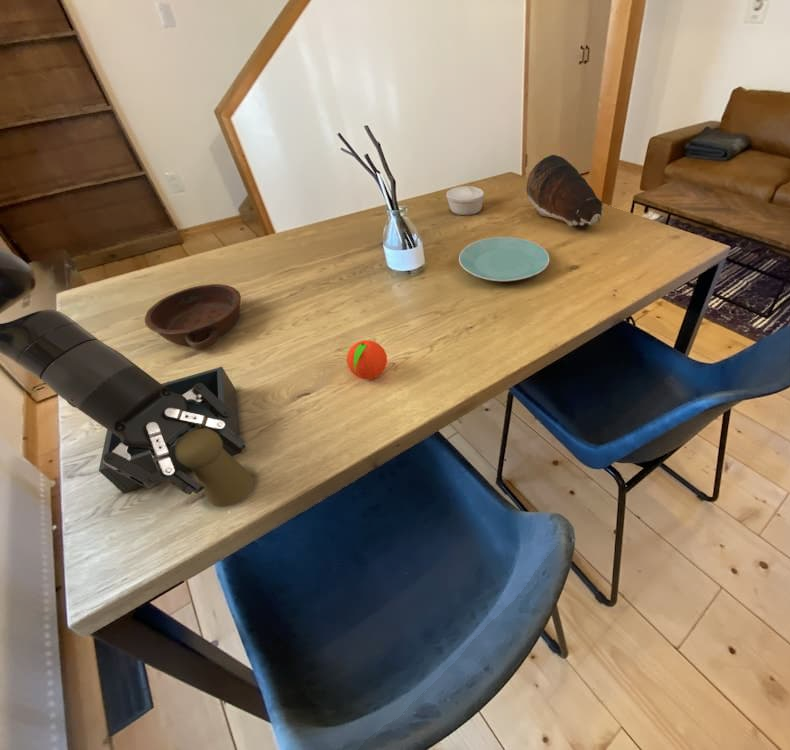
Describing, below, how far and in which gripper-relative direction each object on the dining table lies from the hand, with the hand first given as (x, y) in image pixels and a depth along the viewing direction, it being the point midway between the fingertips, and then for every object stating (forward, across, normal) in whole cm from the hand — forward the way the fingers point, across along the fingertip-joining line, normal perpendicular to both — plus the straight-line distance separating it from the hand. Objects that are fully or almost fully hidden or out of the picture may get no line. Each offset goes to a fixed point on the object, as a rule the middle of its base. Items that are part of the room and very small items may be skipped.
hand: (222, 469), depth 58 cm
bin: (-8, +5, +15) cm, 18 cm away
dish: (-23, +29, +31) cm, 48 cm away
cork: (+3, 0, +5) cm, 6 cm away
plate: (+13, +73, -5) cm, 74 cm away
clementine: (+7, +27, +1) cm, 28 cm away
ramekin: (-3, +102, +11) cm, 103 cm away
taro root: (+18, +105, -11) cm, 107 cm away
